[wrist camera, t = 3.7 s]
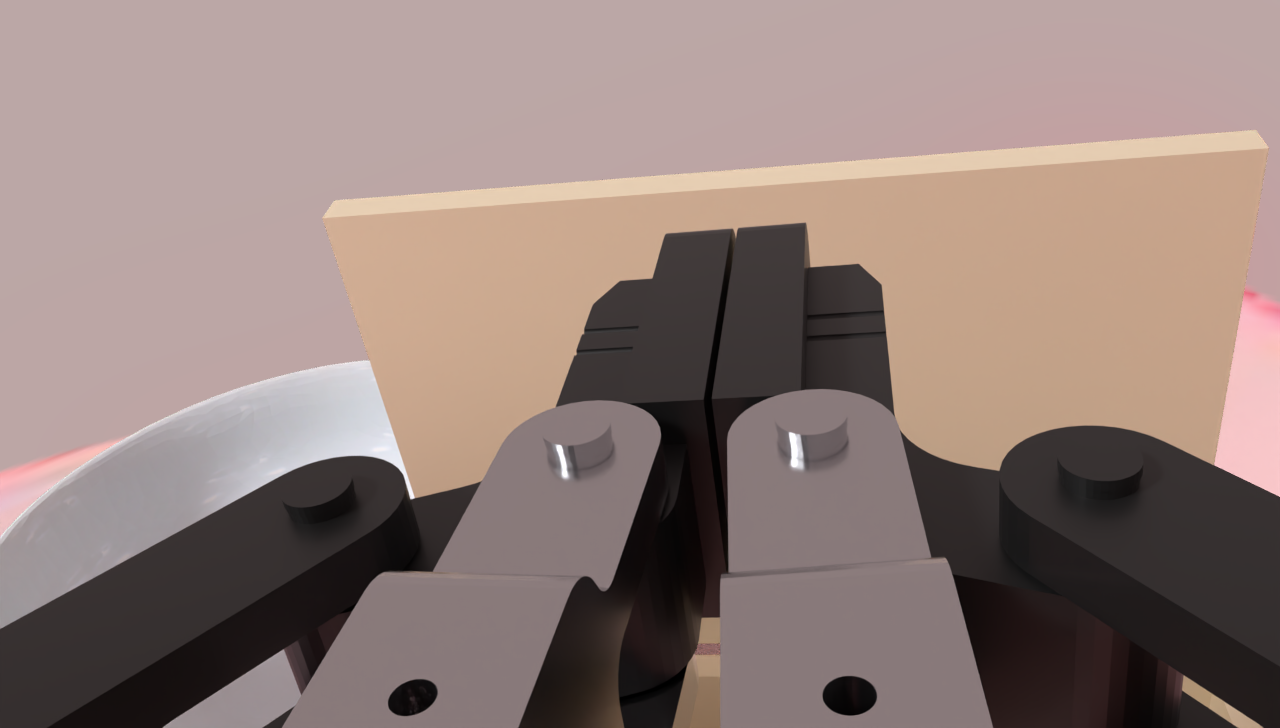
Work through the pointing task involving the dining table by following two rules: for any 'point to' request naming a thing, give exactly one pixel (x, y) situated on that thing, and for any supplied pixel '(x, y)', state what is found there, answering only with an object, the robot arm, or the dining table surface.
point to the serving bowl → (194, 500)
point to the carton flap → (838, 235)
